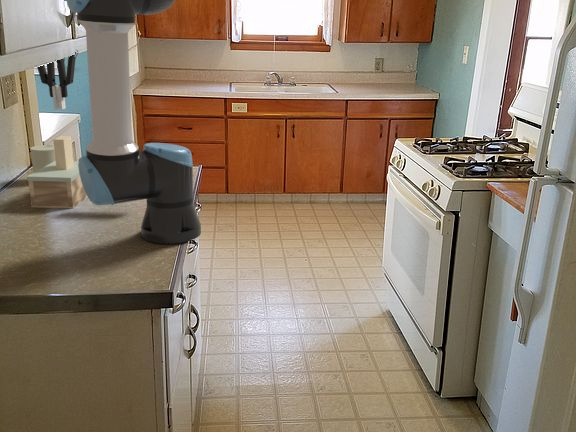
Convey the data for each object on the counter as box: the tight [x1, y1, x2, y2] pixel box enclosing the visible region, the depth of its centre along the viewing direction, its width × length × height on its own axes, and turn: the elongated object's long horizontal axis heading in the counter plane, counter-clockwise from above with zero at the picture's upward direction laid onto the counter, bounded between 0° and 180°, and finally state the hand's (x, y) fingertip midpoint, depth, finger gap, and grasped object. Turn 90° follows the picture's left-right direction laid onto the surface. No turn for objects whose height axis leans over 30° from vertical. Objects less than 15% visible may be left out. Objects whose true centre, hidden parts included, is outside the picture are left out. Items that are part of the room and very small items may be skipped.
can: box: [30, 144, 56, 173], centre depth 185 cm, size 9×9×12 cm
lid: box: [25, 135, 80, 182], centre depth 165 cm, size 21×13×10 cm, turn 0°
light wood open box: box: [28, 176, 88, 209], centre depth 168 cm, size 20×12×8 cm, turn 0°
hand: (60, 108), depth 162 cm, fingers closed
